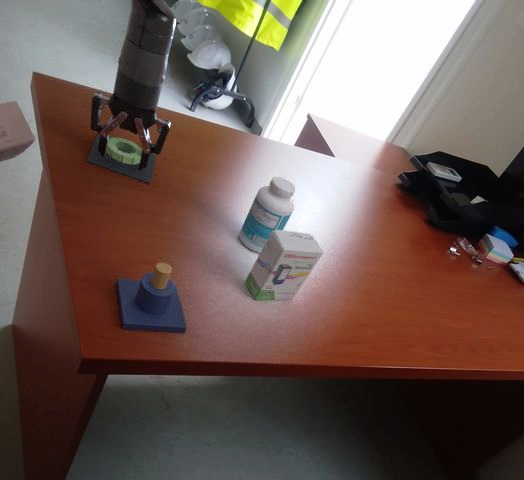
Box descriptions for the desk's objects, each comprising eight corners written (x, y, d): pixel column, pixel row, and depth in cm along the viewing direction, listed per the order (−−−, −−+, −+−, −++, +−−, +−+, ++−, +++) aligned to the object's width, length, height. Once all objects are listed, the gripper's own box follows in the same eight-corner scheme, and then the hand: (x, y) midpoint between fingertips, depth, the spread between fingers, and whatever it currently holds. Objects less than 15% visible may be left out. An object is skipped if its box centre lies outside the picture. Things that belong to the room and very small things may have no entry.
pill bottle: (261, 231, 95) (290, 174, 86) (278, 255, 92) (309, 198, 83) (231, 230, 91) (258, 169, 82) (247, 255, 87) (277, 194, 78)
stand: (122, 329, 63) (134, 287, 57) (116, 283, 68) (127, 241, 62) (184, 333, 67) (201, 294, 62) (174, 290, 72) (189, 251, 67)
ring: (102, 155, 84) (104, 148, 83) (109, 139, 89) (110, 133, 88) (138, 168, 86) (140, 162, 85) (143, 152, 91) (144, 146, 90)
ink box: (281, 281, 86) (311, 231, 78) (293, 301, 83) (325, 251, 76) (243, 281, 81) (270, 227, 73) (254, 301, 79) (284, 248, 71)
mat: (86, 161, 85) (86, 160, 85) (97, 134, 93) (98, 133, 93) (149, 184, 89) (150, 183, 89) (156, 156, 97) (156, 155, 97)
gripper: (183, 83, 82) (160, 166, 93) (101, 46, 77) (87, 138, 89) (181, 98, 77) (156, 184, 88) (93, 60, 72) (78, 156, 83)
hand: (121, 161), depth 88 cm, fingers closed on ring, 6 cm apart
